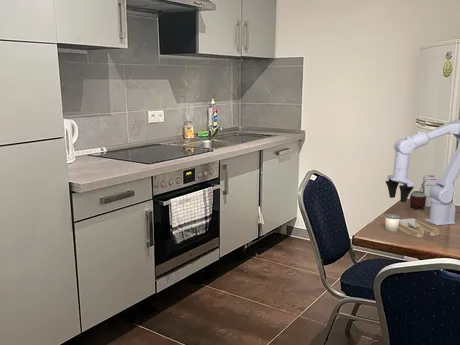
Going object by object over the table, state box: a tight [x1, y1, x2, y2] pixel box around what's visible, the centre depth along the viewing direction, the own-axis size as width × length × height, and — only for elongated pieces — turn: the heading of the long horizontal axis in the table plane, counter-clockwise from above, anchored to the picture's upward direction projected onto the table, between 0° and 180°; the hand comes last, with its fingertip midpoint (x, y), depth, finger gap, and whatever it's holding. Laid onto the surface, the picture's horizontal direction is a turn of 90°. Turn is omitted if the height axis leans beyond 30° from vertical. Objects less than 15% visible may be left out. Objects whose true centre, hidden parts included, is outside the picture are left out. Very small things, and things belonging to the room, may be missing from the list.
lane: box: [398, 219, 440, 238], centre depth 184 cm, size 10×15×3 cm
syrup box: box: [421, 174, 439, 208], centre depth 222 cm, size 6×6×14 cm
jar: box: [384, 212, 401, 233], centre depth 185 cm, size 5×5×6 cm
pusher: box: [399, 218, 418, 229], centre depth 187 cm, size 7×6×3 cm
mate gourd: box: [409, 180, 427, 211], centre depth 215 cm, size 8×8×15 cm
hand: (397, 199), depth 193 cm, fingers open, 7 cm apart
